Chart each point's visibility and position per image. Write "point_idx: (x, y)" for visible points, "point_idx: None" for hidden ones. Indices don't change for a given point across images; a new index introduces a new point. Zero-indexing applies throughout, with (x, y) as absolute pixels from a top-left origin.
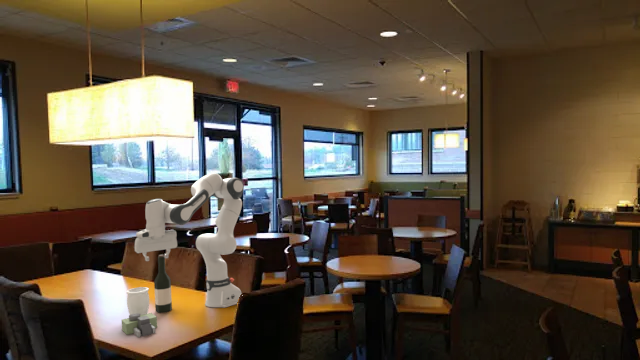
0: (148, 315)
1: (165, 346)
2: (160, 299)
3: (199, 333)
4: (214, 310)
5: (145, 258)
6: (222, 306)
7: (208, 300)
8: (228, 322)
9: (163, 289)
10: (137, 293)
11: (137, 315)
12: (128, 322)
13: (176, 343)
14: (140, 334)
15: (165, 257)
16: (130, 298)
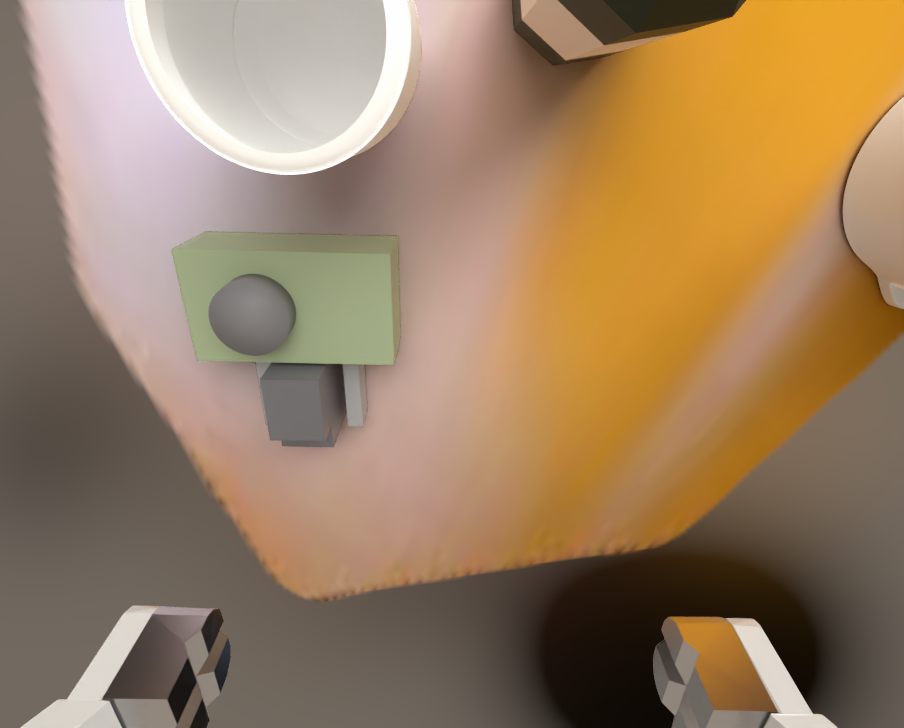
0: (356, 297)
1: (359, 566)
2: (549, 28)
3: (527, 541)
4: (806, 302)
5: (100, 678)
6: (886, 293)
7: (890, 197)
8: (701, 515)
9: (602, 45)
10: (253, 167)
11: (265, 342)
12: (213, 341)
13: (405, 567)
14: None
15: (657, 682)
16: (200, 103)
